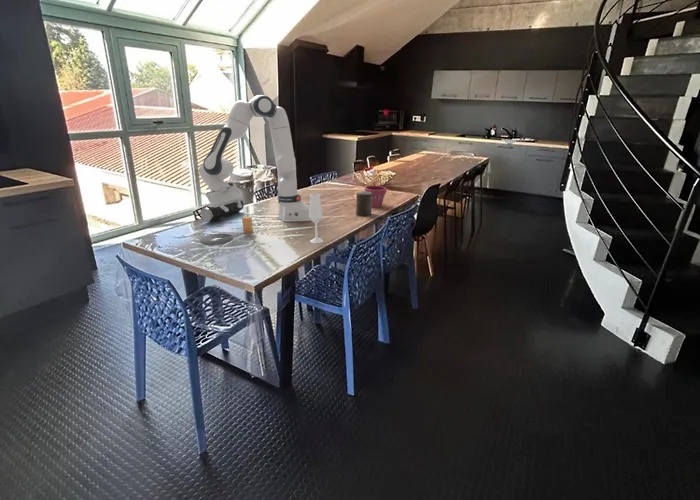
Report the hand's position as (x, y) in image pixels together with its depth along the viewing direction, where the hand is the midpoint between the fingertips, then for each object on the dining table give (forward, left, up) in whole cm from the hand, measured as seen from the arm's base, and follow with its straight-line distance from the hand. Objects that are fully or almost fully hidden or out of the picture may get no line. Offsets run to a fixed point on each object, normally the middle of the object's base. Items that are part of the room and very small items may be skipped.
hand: (234, 209), depth 207 cm
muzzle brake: (+17, -21, -12) cm, 30 cm away
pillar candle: (-68, -38, -12) cm, 79 cm away
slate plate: (+4, +17, -12) cm, 21 cm away
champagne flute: (-48, +14, -12) cm, 51 cm away
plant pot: (-74, -58, -12) cm, 95 cm away
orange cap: (-8, +4, -12) cm, 15 cm away
